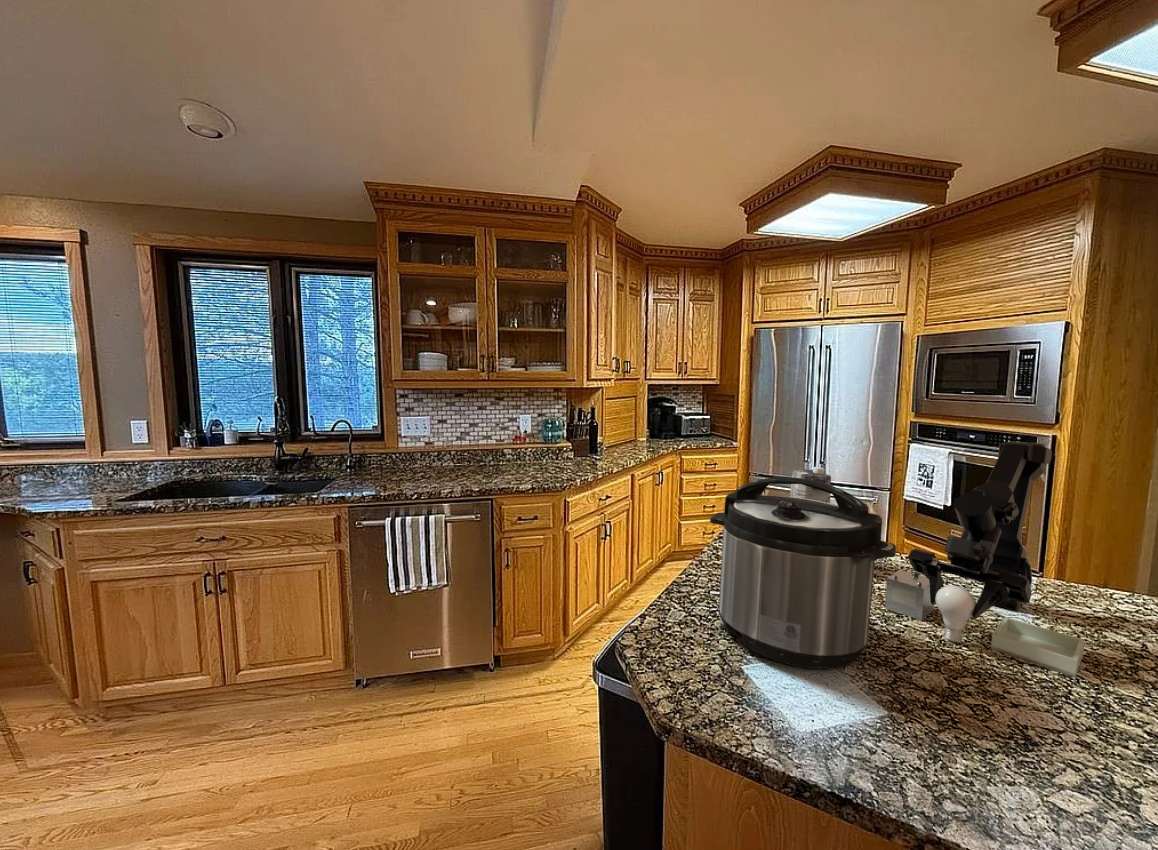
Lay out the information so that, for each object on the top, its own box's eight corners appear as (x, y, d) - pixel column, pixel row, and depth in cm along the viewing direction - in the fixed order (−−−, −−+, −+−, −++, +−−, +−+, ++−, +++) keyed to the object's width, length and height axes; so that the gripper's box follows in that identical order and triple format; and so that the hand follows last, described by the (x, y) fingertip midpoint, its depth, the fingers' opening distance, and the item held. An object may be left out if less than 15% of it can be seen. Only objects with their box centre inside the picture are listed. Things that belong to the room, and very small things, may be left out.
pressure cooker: (916, 662, 86) (929, 489, 83) (793, 695, 76) (804, 501, 73) (789, 594, 114) (796, 463, 111) (688, 611, 104) (693, 468, 101)
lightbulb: (981, 651, 89) (986, 595, 89) (943, 647, 91) (947, 592, 90) (961, 634, 96) (965, 581, 95) (925, 631, 97) (930, 578, 96)
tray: (1004, 630, 97) (1005, 616, 97) (1083, 655, 89) (1084, 640, 88) (991, 649, 90) (992, 633, 90) (1075, 677, 82) (1077, 660, 82)
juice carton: (795, 565, 132) (800, 469, 130) (785, 552, 143) (789, 463, 140) (829, 567, 131) (835, 471, 129) (816, 554, 141) (821, 464, 139)
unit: (897, 598, 112) (900, 566, 111) (933, 609, 106) (936, 576, 106) (884, 608, 107) (886, 574, 106) (921, 620, 101) (923, 585, 101)
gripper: (914, 511, 101) (887, 572, 96) (1033, 534, 86) (1008, 608, 81) (927, 540, 106) (902, 600, 101) (1040, 567, 91) (1018, 639, 86)
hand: (952, 610), depth 92 cm, fingers closed on lightbulb, 6 cm apart
